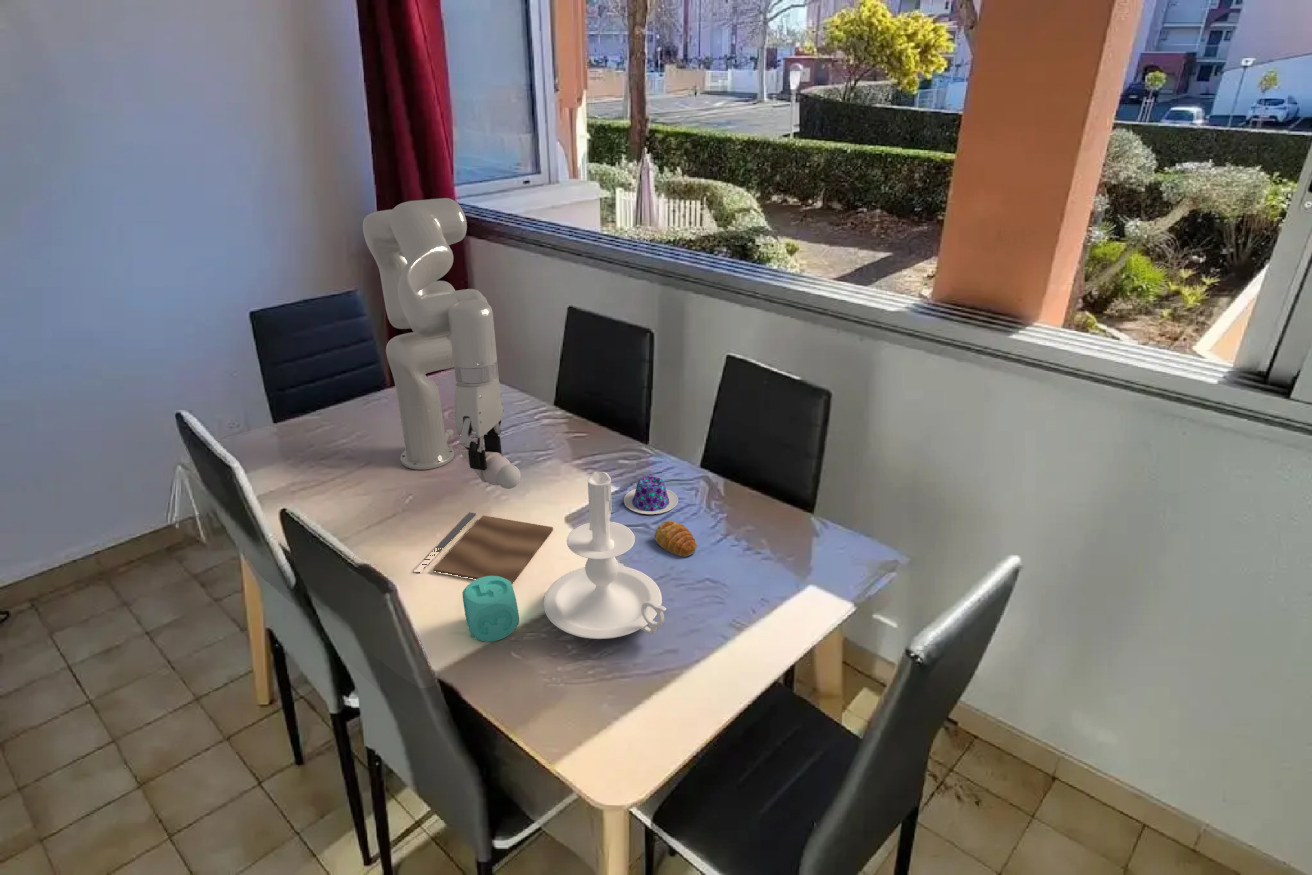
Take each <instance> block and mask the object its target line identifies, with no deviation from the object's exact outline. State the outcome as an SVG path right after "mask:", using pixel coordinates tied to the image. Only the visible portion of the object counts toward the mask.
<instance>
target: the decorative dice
mask: <svg viewBox="0 0 1312 875" xmlns="http://www.w3.org/2000/svg"><path fill="white" fill-rule="evenodd" d="M462 601H463V610H464V615H465V621H466V624H467V629H468V632H469V633H468V634H469V636H470V637H471V638H473V639H475V640H478V641H481V642H489V643H490V642H491V643H492V642H498V641H500V640H503V639H505V638H506V637H508V636H510V635H511V634H512V633H513V632H514V631H515V630H516V629H517V628H518V626H519V623H520V619H519V618H520V616H519V609H518V603H517V598H516V593H515V590H514V586H513V584H511V582H510V581H509V580H507V579H505V578H503V577H499V576H485V577H481V578H478V579H476V580H472V581H471V582H469V584H468V585H467V586H466V587H464V589H463V591H462Z"/></svg>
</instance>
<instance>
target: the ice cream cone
mask: <svg viewBox="0 0 1312 875" xmlns="http://www.w3.org/2000/svg"><path fill="white" fill-rule="evenodd" d="M458 452H459V454H461V455H462V457H463V459H465V461H466V462H467V464H468V465H469V466H470V463H469V455H468V451H467V450H466V449H465V450H464V449H458ZM485 455H486V464H487V469H486V470H478V469H472V470H473V471H474V473H475V474H476V476H477V477H478V478H479V479H480V480H481V482H482V483H488V484H489V485H492V486H496V487H497V486H500V487H501V488H502V489H506V490H507V489H509V490H510V489H513V488H516V487H517V486H518V485H519V483H520V481H521V479H522V477H521V476H522V473H521V471H520V469H519V468H518V467H517V466H516V465H514V464H512V463H511V462H510V461H509V459H507V458H506V457H504V456H502V454H500V453H497V452H485Z"/></svg>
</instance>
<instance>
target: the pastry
mask: <svg viewBox="0 0 1312 875" xmlns="http://www.w3.org/2000/svg"><path fill="white" fill-rule="evenodd" d="M653 536H654V538H655V541H656V543H657V544H658V545H659V546H660V548H662V549H664V550H665V551H667V552H669V553H671V554H673V555H675V556H679V557H684V558H685V557H689V556H691V555H693V554H695V552H696V550H697V548H698V544H697V542H696V539H695V538H694V536H693V533H691V531H690V530H689V529H688V528H687V527H685V525H683V524H682V523H677V522H676V521H674V520H667V521H663V522H662V524H660V525H659V526H658V527H657V529H656V531H655V532H654V534H653Z"/></svg>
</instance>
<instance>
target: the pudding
mask: <svg viewBox="0 0 1312 875" xmlns="http://www.w3.org/2000/svg"><path fill="white" fill-rule="evenodd" d="M678 502H679V498H678V496H677V494H676V493H675V492H674V491H672V490H670V489H669V488H667V487H666V484H665V482H664V481H663V479H661V478H660V477H656V476H653V475H651V476H643V478H640V479H639V480H638V482H637V483H636V488H633V489H632V490H629V491H628V492H626V494H625V495H624V497H623V504H624V505H625V507H626V508H627V509H629V510H631V511H632V512H636V513H638V514H645V515H655V514H656V515H657V514H659V515H660V514H663V513H667V512H669V511H671V510H673V509H674V508H675V507H676V506H677V505H678Z"/></svg>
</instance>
